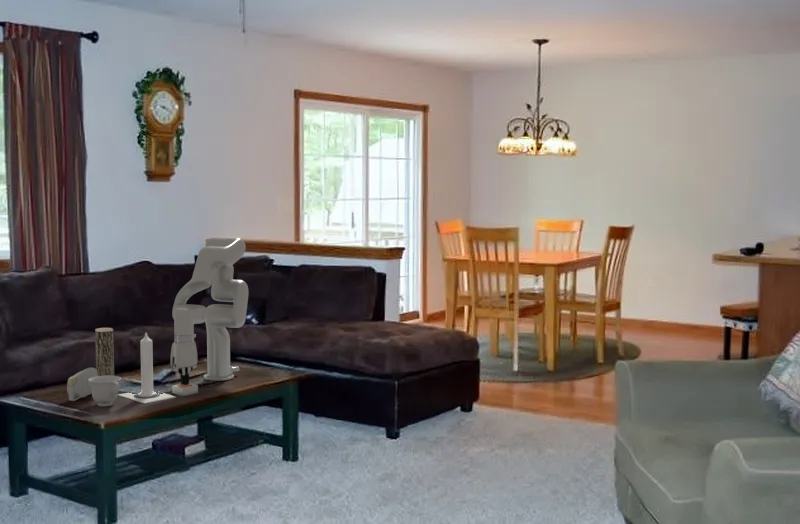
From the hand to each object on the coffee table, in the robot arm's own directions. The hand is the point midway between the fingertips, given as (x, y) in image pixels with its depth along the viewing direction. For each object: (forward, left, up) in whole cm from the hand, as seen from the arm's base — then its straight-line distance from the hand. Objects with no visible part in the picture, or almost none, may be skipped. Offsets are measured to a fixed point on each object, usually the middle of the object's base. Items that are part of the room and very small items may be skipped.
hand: (184, 384), depth 390 cm
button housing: (0, 0, -4) cm, 4 cm away
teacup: (+32, -4, -4) cm, 32 cm away
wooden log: (+20, -26, -4) cm, 33 cm away
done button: (0, 0, -2) cm, 2 cm away
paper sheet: (+14, -6, -4) cm, 15 cm away
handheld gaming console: (+31, -23, -4) cm, 39 cm away
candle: (+14, -6, -3) cm, 15 cm away
